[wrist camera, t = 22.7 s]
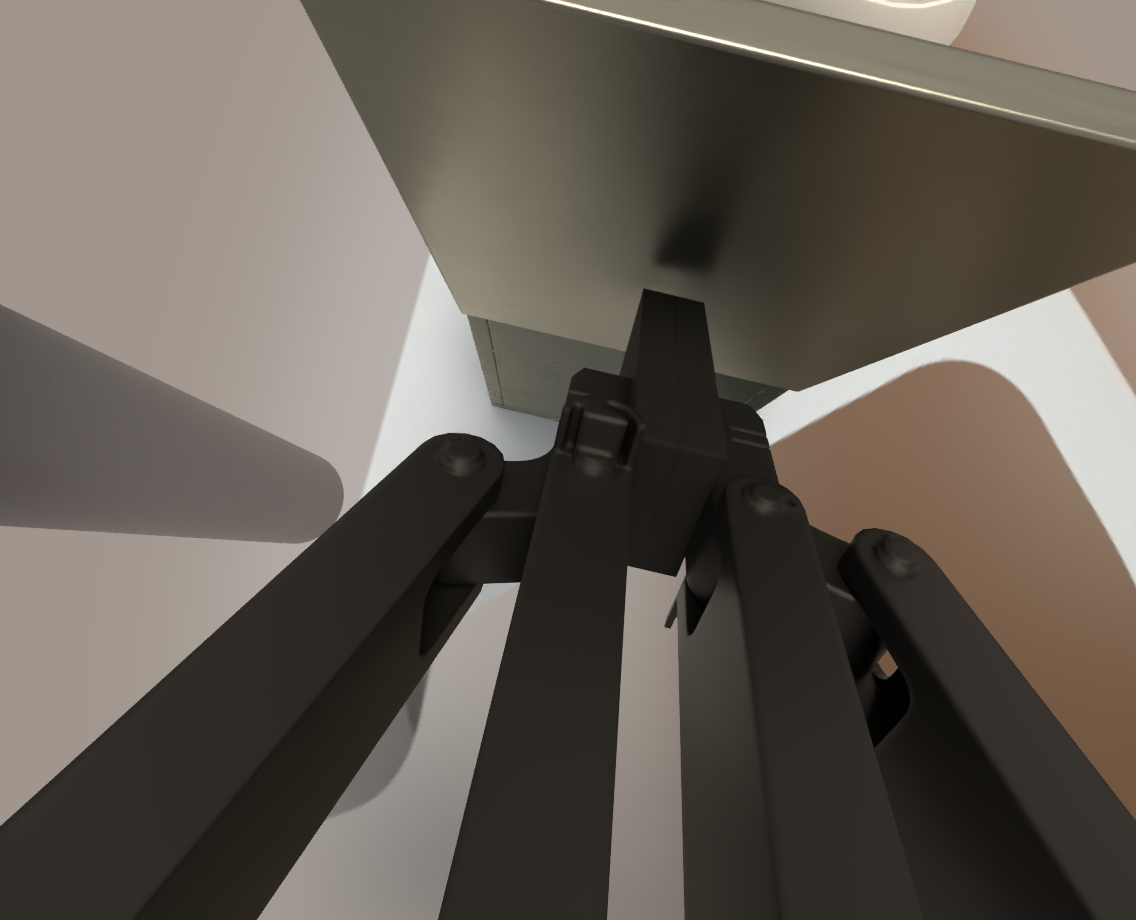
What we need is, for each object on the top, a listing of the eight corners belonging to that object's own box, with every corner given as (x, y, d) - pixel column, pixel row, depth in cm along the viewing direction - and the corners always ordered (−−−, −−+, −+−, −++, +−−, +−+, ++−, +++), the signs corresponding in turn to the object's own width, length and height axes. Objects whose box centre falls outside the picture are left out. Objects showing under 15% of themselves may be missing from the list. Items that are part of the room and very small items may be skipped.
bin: (546, 188, 40) (552, -24, 25) (737, 234, 40) (853, 49, 26) (491, 405, 38) (464, 308, 23) (695, 452, 38) (796, 386, 23)
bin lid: (278, -122, 7) (262, -65, 7) (1336, 135, 7) (1326, 192, 7) (465, 295, 23) (461, 313, 23) (802, 374, 23) (798, 392, 23)
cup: (817, 241, 40) (982, 58, 26) (664, 181, 41) (740, -37, 26) (865, 106, 42) (1044, -139, 27) (718, 48, 42) (817, -227, 27)
